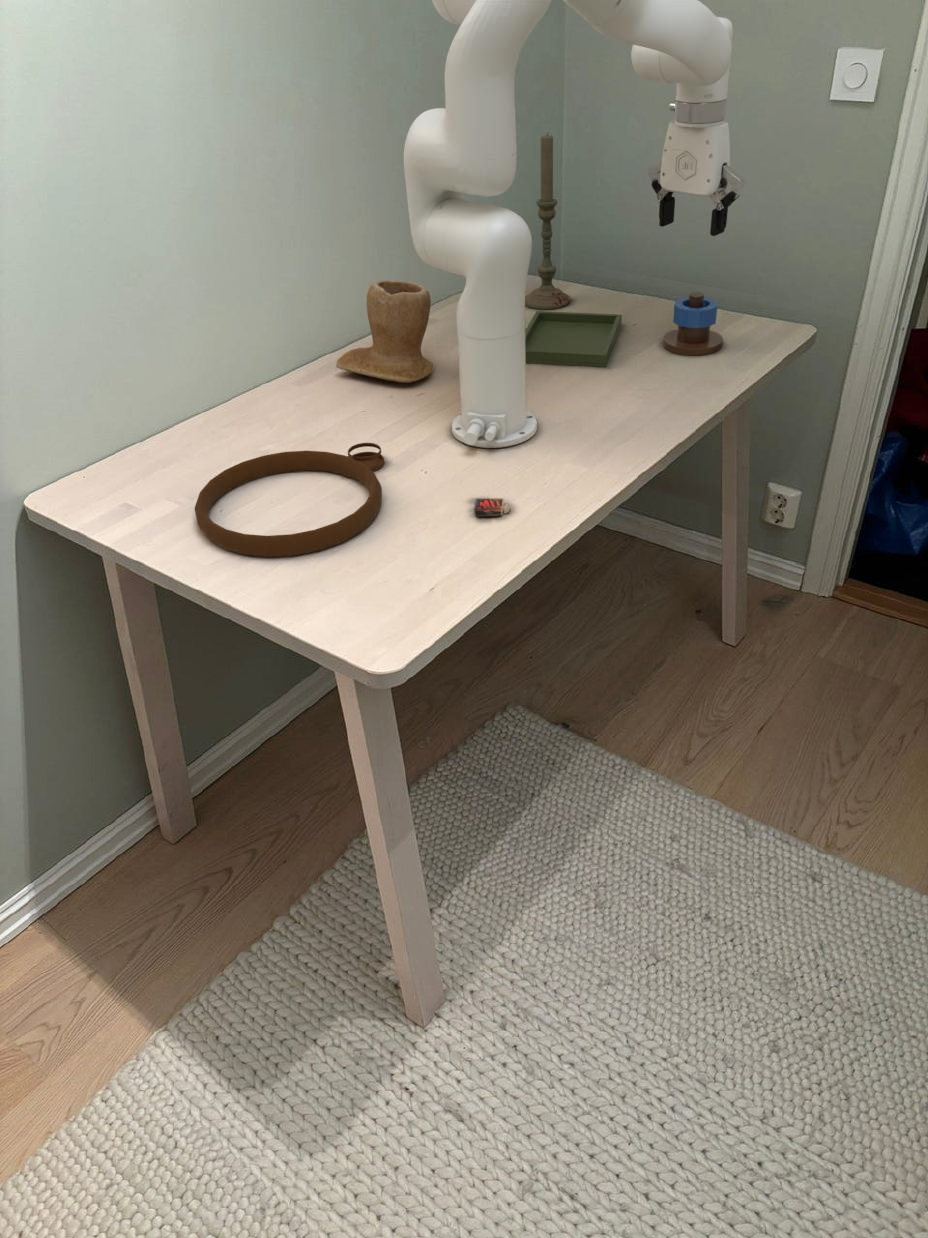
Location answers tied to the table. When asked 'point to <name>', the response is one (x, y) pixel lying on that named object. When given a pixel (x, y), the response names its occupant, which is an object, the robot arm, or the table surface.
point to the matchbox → (490, 506)
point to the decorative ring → (348, 466)
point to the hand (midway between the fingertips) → (691, 228)
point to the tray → (571, 338)
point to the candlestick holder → (546, 237)
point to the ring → (695, 313)
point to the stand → (693, 335)
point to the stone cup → (393, 333)
